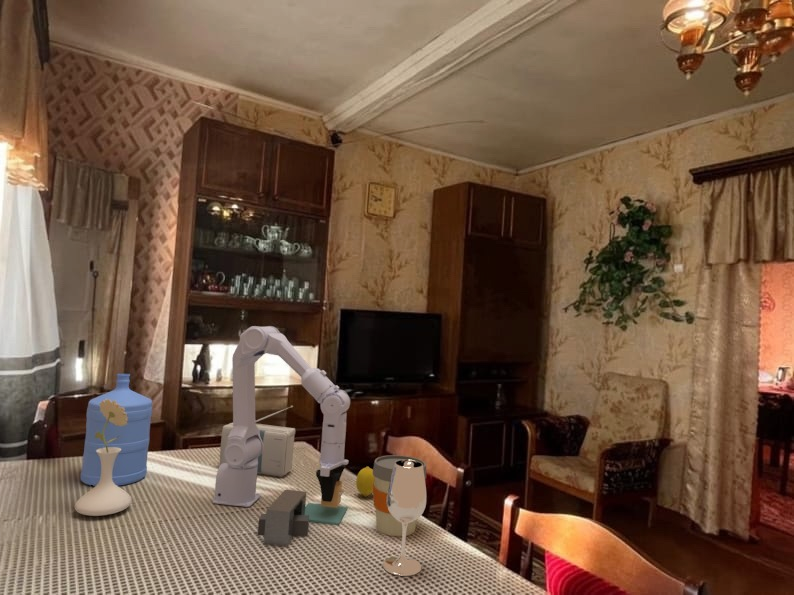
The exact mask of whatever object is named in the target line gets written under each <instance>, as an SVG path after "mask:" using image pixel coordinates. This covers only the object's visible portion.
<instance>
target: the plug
mask: <svg viewBox="0 0 794 595" xmlns="http://www.w3.org/2000/svg"><path fill="white" fill-rule="evenodd" d="M342 487H343V481H342V480H340V481H337V482H336V485H335V489H334V494H333V498H332V501H331V502H327V501H323V500H322V495H321V497H320V498H321V499H320V504H321V506H325V507H335V508H337V507H338V506H339V505H340V504H341V502H342V496H343V493H344V492H345V489H343V488H342Z"/></svg>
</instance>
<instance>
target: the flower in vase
mask: <svg viewBox="0 0 794 595" xmlns="http://www.w3.org/2000/svg"><path fill="white" fill-rule="evenodd" d="M120 407H121V406H120V405H119V404H117V403H116V401H115V400H113V402H111V401H110V399H105V401H102V403H101V402H100V411H101V412H102V413H103V415H104V416H105V417H106V419H107V421H106V423H105V426H104V428H103V432H102V434H101V433H100V432H98V431H97V433H96V435H95V436H94V437H96V438H99V439H100V440H102V441H103V440H104V443H105V448H100V449H98V450H96V452H97V453H98V455H99V456H100V459H101V478H100V481H99V483H98V484H97V485H96V486H93V488H91V489H90V490H88V491H87V492H86V493H85V494H83V495H82V496H81V497H80V498H79V499H77V501H76V502H75V505H74V509H75V511H76V512H77V513H78V514H81V515H84V516H92V517H99V516H108V515H112V514H116V513H119V512H122V511H124V510H125V509H128V507H130V505H131V504H132V502H133V500H132V499H133V498H132V496H131V495H130V494H129V493H128V492H127V491H125V490H124V489H122V487H121V486H117V485H115V484H114V482H113V480H112V471H113V465H114V461H115V458H116V456H117V455H118V453H119V452H120V451H121V448H117V447H107V443H109V442H111V441H113V440H115V439H116V438H114V439H112V440H110V441H108V442H107V443H106V441H105V437H104V430H105V427H106V425H107V423H108V421H110V422H111V423H114V424H115V425H116V426H120V427H122V426H124V425H127V420H128V418H127V414H126V413H125V412H124V411H125V409H124V408H120ZM118 437H119V436H118ZM118 437H117V438H118Z"/></svg>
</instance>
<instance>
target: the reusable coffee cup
mask: <svg viewBox="0 0 794 595" xmlns="http://www.w3.org/2000/svg"><path fill="white" fill-rule="evenodd" d="M398 460H414V461H418V462H421V463H422V464H423V470H424V477H425V480H426V479H427V464H426V462H425V461H424V460H422V459H419V458H417V457H413V456H406V455H397V454H396V455H395V454H394V455H393V454H392V455H382V456H379V457H377V458H375V459H374V463H373V468H372V470H373V475H374V484H373V493H372V496H373V497H372V498H373V499H372V500H373V506H374V508H375V519H376V520H375V522H376V529H377V530H378V531H379V532H380V533H382V534H384V535H386V536H390V537H391V536H392V537H402V523H401V522H399V521H397V520H396V519H395V518H394V517H393V516H392V515H391V514H390V512H389V510H388V507H387V492H388V487H389V482H390V478H391V475H392V471H393V468H394V464H395V462H396V461H398ZM417 522H418V519H417V520H415V521H413V522H411V523H408V526H407V530H406V537H407V536H411V535H412V534H413V533H414V532H416V528H417Z"/></svg>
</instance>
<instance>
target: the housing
mask: <svg viewBox="0 0 794 595" xmlns="http://www.w3.org/2000/svg"><path fill="white" fill-rule="evenodd" d="M306 502H307V491H301V490H293V489H285V490H283V492H281V493H280V495H278V496H277V498H276V499H275V500H274V501H273V502H272V503H271V504H270V505H269V506H268V507H267V508H266V511H265V512H266V513H265V514H266V521H265V533H264V535H263V536H264V538H263V544H264V545H271V546H278V547H279V546H280V547H288V546H289V545H290V543H291V542H292V540H293V538H292V537H293V536H292V529H293V516H294V515H305V507H306V505H307V504H306Z"/></svg>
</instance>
